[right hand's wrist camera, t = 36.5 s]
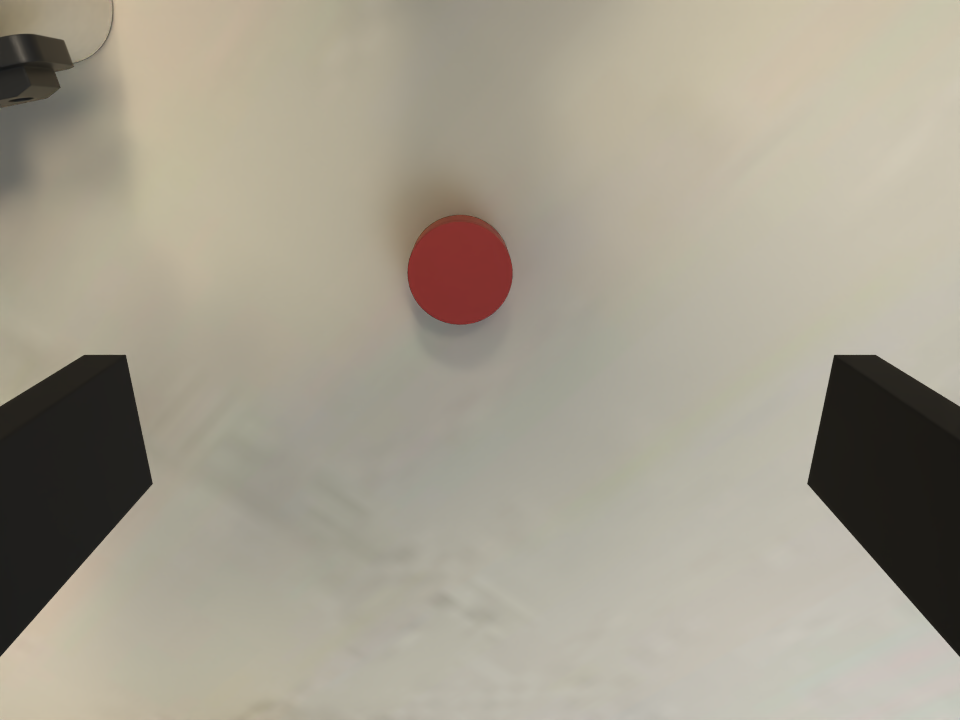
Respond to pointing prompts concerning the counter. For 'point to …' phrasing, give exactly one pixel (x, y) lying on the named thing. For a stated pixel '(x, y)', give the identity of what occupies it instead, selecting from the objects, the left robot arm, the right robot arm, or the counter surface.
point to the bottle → (60, 22)
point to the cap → (460, 270)
